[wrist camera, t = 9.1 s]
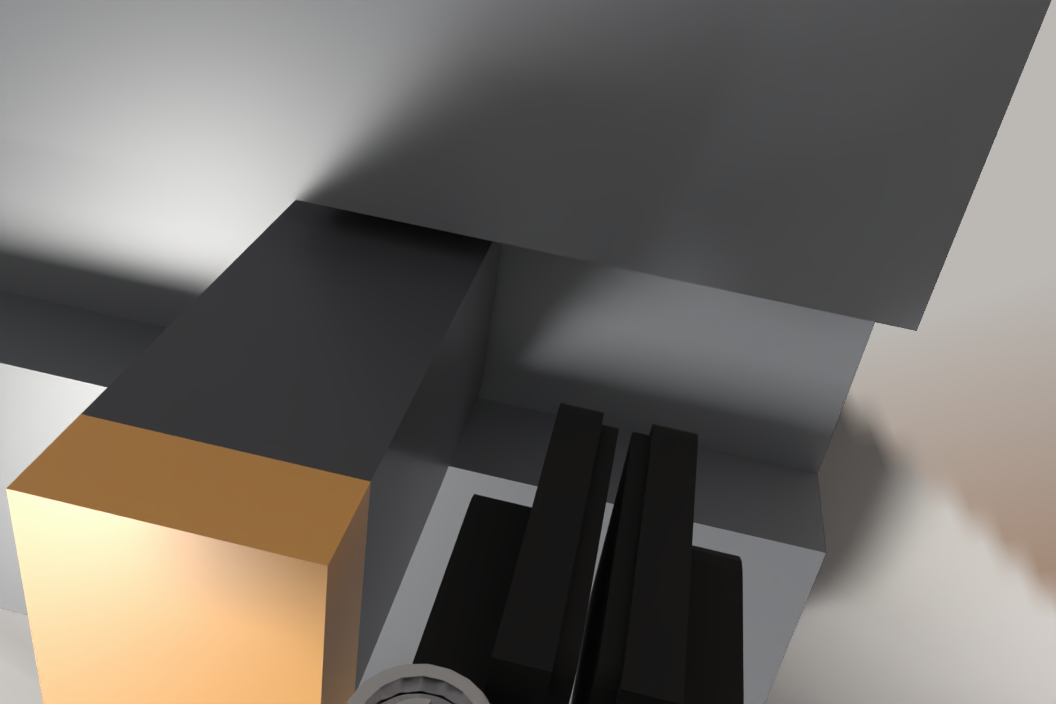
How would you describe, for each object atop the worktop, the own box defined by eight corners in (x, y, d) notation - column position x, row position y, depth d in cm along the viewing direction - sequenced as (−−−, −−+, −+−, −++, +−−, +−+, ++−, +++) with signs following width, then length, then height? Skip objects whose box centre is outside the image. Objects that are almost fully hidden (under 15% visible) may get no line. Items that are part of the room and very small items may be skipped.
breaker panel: (1026, -194, 13) (1130, -177, 10) (730, 631, 22) (728, 800, 18) (-326, -423, 15) (-658, -479, 11) (-117, 429, 23) (-269, 549, 20)
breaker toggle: (505, 217, 15) (327, 565, 9) (480, 389, 17) (316, 789, 10) (316, 178, 16) (6, 488, 9) (311, 350, 17) (46, 719, 11)
